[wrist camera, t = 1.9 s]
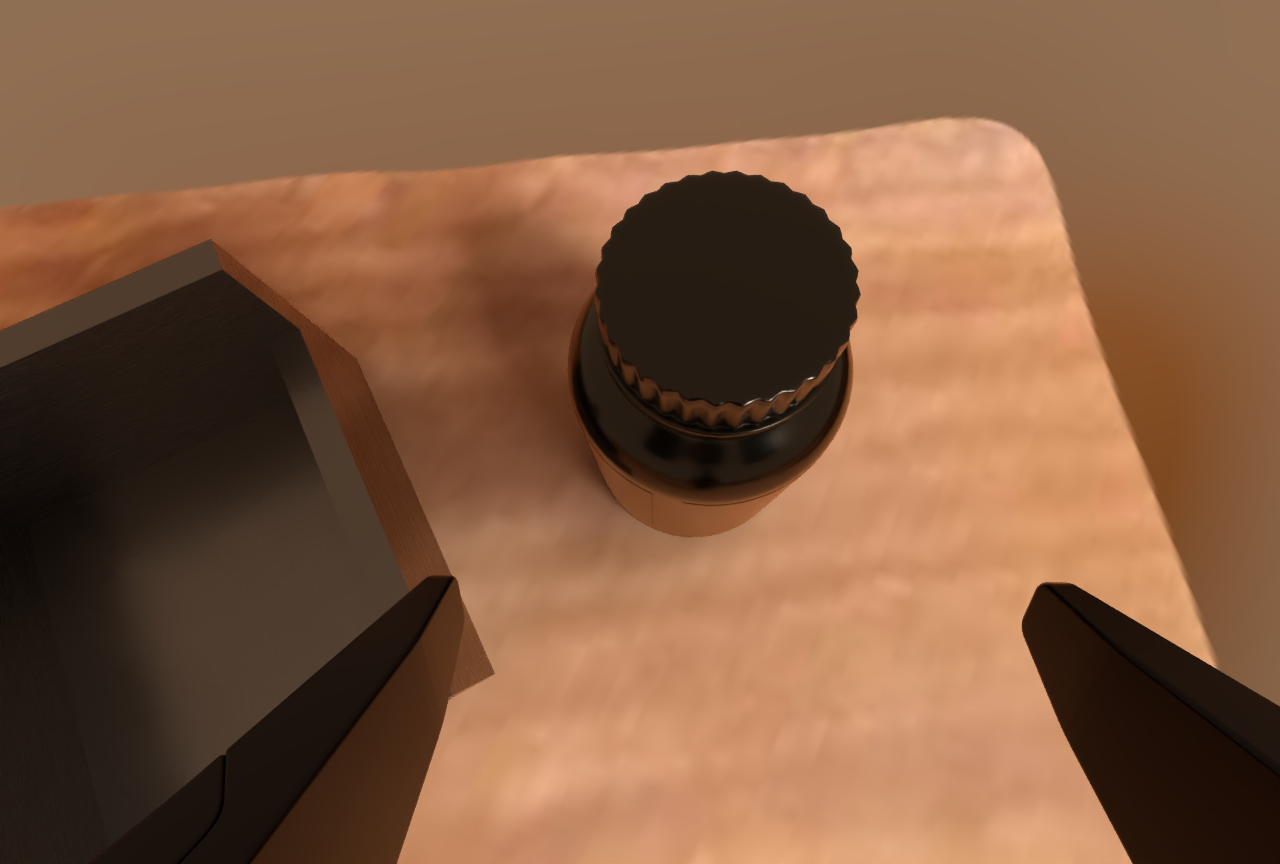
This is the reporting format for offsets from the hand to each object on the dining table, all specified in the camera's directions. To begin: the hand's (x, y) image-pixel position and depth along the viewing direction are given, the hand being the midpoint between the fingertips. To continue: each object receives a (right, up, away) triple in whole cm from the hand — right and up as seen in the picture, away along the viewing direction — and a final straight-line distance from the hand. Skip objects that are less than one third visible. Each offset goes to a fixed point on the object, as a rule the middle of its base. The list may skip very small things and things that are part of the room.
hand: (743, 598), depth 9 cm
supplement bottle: (0, +2, +13) cm, 13 cm away
